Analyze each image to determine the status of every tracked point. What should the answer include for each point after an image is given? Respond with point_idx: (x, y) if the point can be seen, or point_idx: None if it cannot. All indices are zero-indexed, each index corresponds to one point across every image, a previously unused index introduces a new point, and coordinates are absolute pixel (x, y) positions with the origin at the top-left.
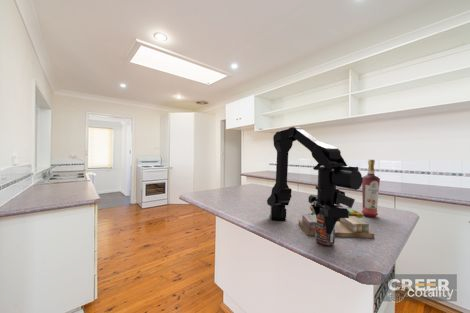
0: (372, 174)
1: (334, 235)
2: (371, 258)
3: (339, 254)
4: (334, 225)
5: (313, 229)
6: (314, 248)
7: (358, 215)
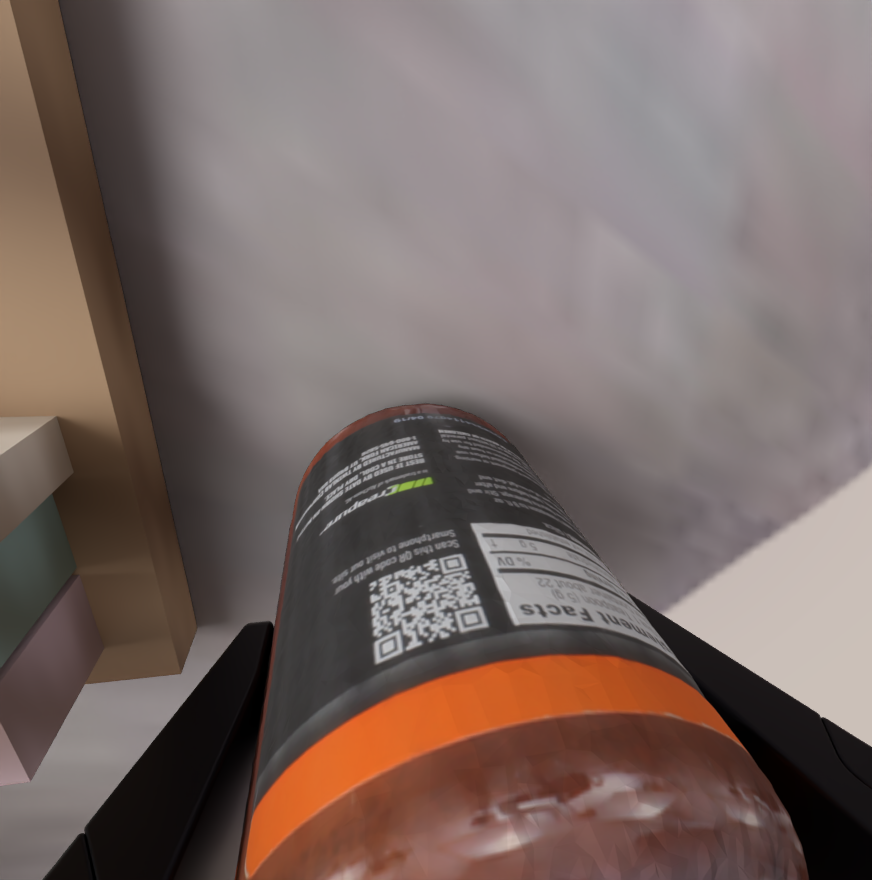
0: None
1: (540, 485)
2: (832, 67)
3: (669, 435)
4: (819, 719)
5: (80, 602)
6: None
7: None
